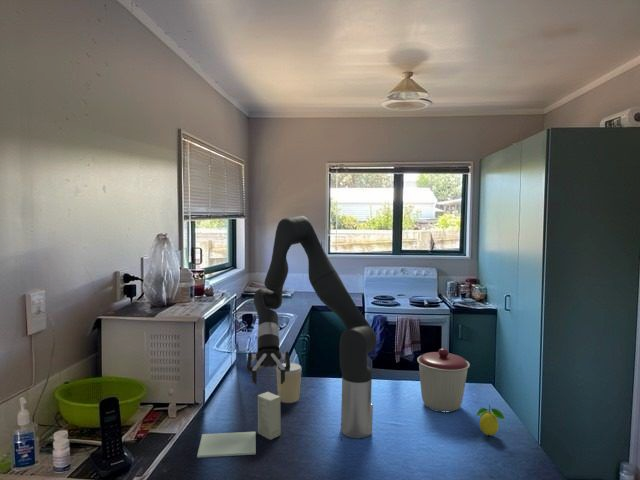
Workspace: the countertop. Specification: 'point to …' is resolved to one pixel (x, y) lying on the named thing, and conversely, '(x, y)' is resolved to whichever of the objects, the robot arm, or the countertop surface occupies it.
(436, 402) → the canister
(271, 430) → the skincare box
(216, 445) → the mat
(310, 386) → the countertop surface
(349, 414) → the robot arm
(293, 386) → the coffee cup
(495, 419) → the lemon
